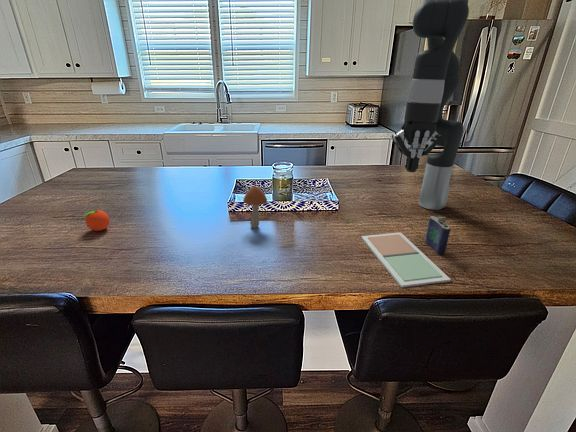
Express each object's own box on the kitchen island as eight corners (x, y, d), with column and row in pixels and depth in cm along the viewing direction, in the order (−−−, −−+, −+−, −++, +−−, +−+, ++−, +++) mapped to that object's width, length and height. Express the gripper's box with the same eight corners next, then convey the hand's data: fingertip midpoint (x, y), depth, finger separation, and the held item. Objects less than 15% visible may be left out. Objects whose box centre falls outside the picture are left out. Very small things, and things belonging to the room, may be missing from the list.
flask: (422, 240, 102) (429, 210, 97) (430, 240, 102) (438, 210, 98) (438, 256, 94) (446, 224, 89) (447, 255, 94) (456, 223, 90)
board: (400, 234, 106) (401, 231, 106) (450, 281, 83) (451, 278, 82) (361, 237, 104) (361, 235, 103) (401, 287, 81) (401, 284, 80)
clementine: (84, 237, 103) (78, 217, 100) (85, 228, 109) (79, 209, 106) (112, 231, 106) (106, 212, 103) (111, 223, 112) (106, 205, 109)
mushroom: (271, 223, 113) (270, 183, 106) (262, 233, 106) (260, 191, 99) (250, 220, 115) (248, 180, 108) (240, 229, 108) (238, 188, 102)
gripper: (440, 99, 79) (426, 167, 86) (390, 98, 77) (380, 167, 84) (459, 102, 72) (442, 175, 79) (406, 101, 70) (393, 176, 77)
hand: (410, 171), depth 82 cm, fingers closed
